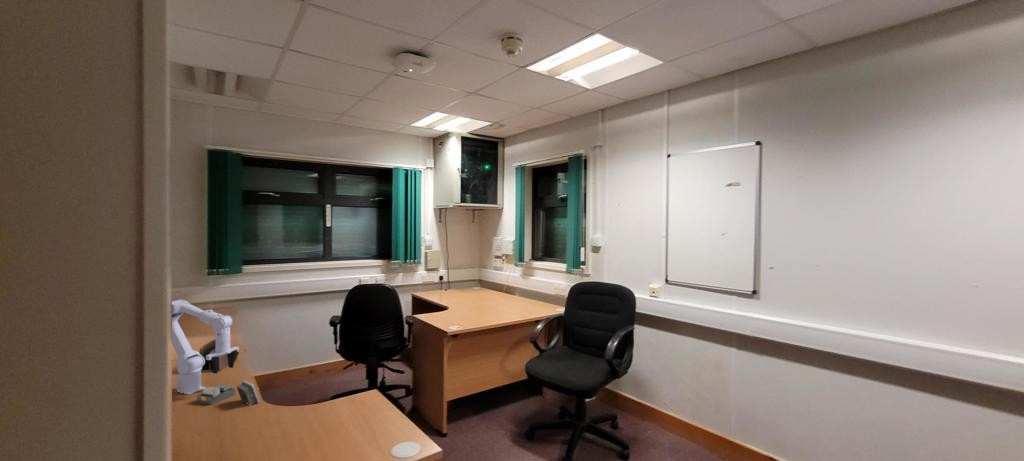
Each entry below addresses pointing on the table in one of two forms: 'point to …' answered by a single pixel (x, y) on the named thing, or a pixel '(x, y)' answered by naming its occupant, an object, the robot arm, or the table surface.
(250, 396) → the electrical switch
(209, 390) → the grey block
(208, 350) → the letter holder
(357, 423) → the table surface
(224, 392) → the rack
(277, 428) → the table surface
